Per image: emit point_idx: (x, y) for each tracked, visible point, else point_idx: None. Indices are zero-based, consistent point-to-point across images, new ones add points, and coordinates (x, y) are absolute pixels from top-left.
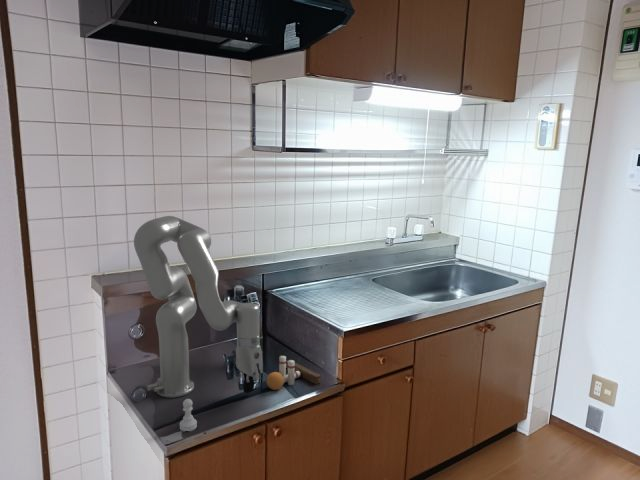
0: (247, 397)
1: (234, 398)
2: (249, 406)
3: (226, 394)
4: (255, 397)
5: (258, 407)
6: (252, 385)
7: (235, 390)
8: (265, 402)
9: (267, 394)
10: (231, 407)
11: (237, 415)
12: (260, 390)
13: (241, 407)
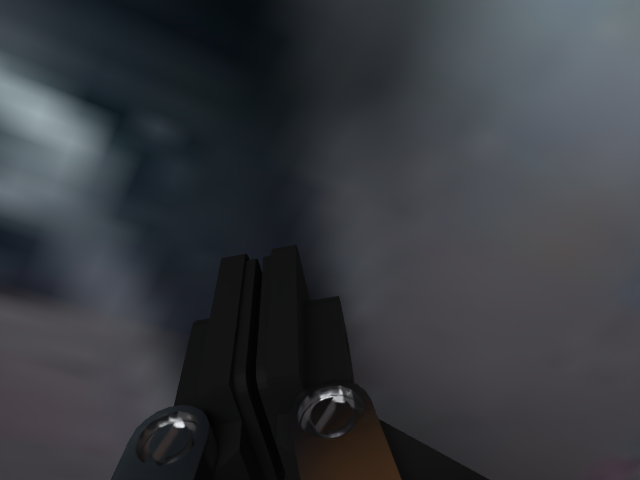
0: (319, 296)
1: None
2: (530, 345)
3: None
4: (376, 215)
5: (624, 276)
6: (345, 350)
7: (67, 351)
8: (587, 155)
9: (393, 16)
10: None
11: (596, 470)
12: (201, 61)
13: (491, 410)
